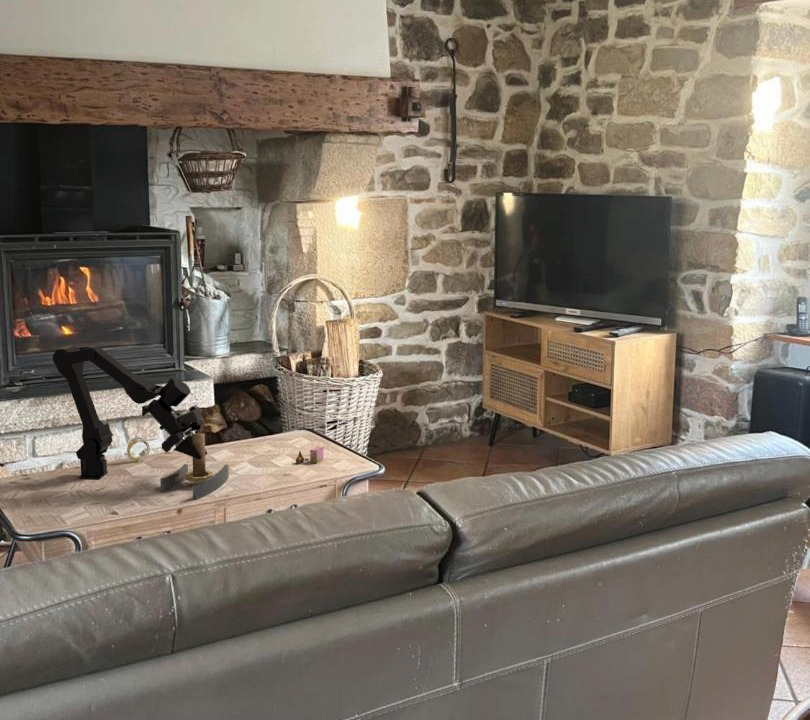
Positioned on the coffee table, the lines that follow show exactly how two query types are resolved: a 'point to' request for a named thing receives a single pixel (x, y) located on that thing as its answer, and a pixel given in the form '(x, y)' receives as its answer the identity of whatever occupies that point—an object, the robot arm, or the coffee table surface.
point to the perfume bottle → (312, 455)
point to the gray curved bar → (198, 489)
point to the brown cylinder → (199, 465)
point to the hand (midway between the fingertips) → (203, 456)
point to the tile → (193, 482)
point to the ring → (135, 443)
